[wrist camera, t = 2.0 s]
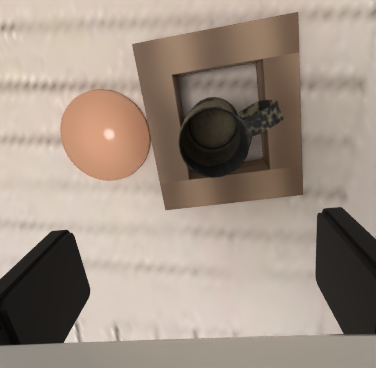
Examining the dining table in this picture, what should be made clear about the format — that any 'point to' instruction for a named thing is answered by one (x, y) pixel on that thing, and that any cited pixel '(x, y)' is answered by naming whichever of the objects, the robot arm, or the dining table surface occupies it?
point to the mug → (223, 134)
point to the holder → (267, 90)
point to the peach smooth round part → (105, 135)
